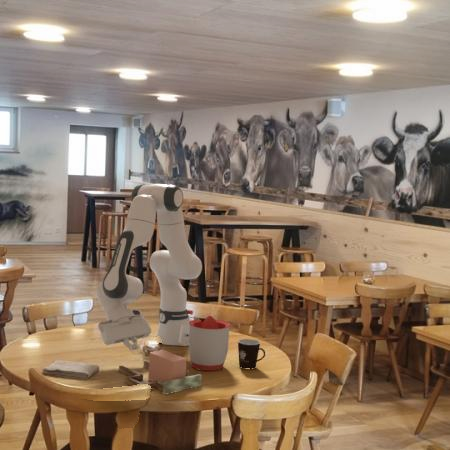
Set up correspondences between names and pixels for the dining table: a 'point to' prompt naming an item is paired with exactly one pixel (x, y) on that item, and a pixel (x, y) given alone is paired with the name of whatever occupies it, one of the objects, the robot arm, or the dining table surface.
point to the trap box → (165, 386)
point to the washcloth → (71, 369)
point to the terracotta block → (166, 366)
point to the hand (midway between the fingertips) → (134, 349)
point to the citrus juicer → (208, 343)
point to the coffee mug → (249, 352)
